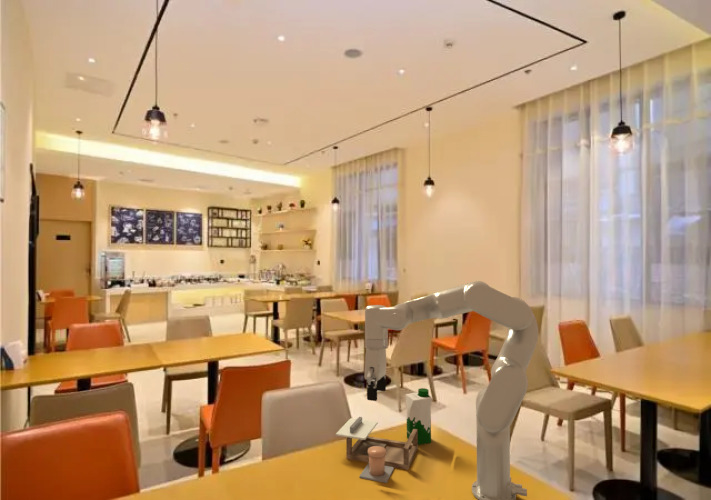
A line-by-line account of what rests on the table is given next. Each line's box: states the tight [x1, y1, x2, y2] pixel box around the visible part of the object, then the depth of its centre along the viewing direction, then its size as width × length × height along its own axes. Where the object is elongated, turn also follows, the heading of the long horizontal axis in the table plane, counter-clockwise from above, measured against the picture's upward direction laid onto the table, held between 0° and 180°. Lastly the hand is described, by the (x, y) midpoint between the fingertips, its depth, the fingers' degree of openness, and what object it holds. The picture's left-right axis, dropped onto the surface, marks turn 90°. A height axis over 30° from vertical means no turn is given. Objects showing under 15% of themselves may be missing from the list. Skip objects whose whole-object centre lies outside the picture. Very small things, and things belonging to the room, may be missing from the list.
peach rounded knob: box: [368, 446, 386, 476], centre depth 131 cm, size 6×6×7 cm
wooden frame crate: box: [345, 429, 419, 471], centre depth 145 cm, size 22×16×8 cm
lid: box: [335, 416, 379, 440], centre depth 148 cm, size 11×15×3 cm
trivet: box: [359, 462, 395, 484], centre depth 131 cm, size 9×9×2 cm
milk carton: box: [405, 387, 433, 446], centre depth 155 cm, size 9×9×20 cm
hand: (376, 395), depth 132 cm, fingers open, 9 cm apart
